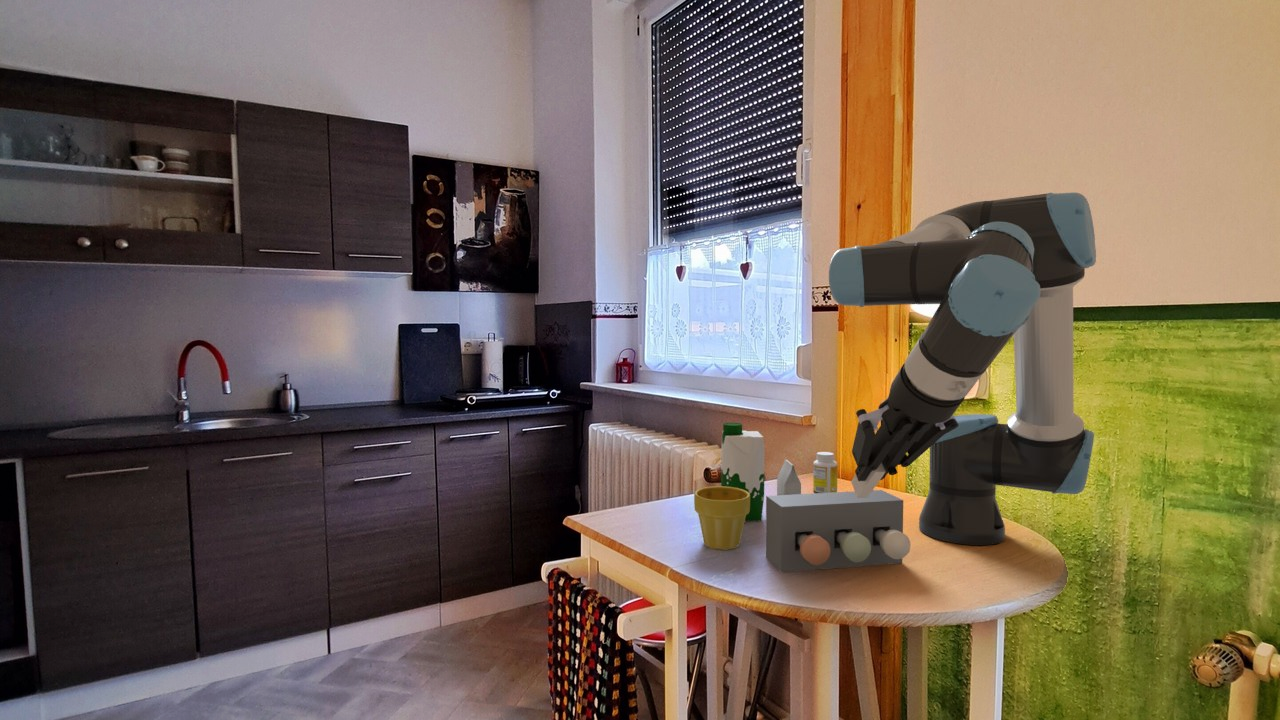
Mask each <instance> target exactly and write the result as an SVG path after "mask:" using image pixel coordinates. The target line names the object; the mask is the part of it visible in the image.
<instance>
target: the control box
mask: <svg viewBox="0 0 1280 720" xmlns="http://www.w3.org/2000/svg"><path fill="white" fill-rule="evenodd" d="M765 499H766V501H765V502H766V503H765V508H766V509H765V558H766V559H767V560H768V561H769V562H770V563H771V564H772V565H773V566H774V567H775V568H776V569H777V570H778V571H779V572H780V573H786V572H790V573H791V572H799V571H814V570H828V569H842V568H857V567H858V568H859V567H868V566H869V567H870V566H882V565H883V566H884V565H886V566H887V565H896V564H903V558H902V559H893V558H891V557H889V556H888V555H886V554H885V553H884V552H883V551H882V550H881V548H880V543H879V542H878V541H876V540H875V539H874V537H873V533H874V531H875V530H876V529H879V528H880V529H883V530H885V531H888V530H891V529H895V530H898V531H900V532H902V533H903V534H904V531H903V530H904V499H902V498H900V497H897V496H895V495H893V494H891V493H890V492H889V493H888V492H887V491H885V490H882V489H878V490H877V489H875V490H874V489H873V491H872V492H871V493H870V495H869V496H868V498H857V496H856V493H855V490H854V491H837V492H833V493H801V494H794V495H777V494H776V495H775V494H774V495H766V497H765ZM839 531H844V532H846V533H847V534H848V533H850V532H858V533H860V534H861V535H863V536H864V537H866V538H867V539H868V540H869V542H870V544H871V551H870V554H869V556H868V557H867V558H866V559H865V560H864V561H861V562H853V561H851V560H850V559H848V558H847V557H846V556H844V555H843V553H842V552H841V548H840V544H839V543H837V542H836V540H835V536H836V534H837V532H839ZM801 533H804V534H806V535H812V534H815V535H819V536H820V537H822V538H823V539H825V540H826V541H827V542H828V543H829V545H830V556H829V558H828V559H827V561H826V562H824V563H823V564H820V565H813V564H811V563H809V562H808V561H807V560H806V559H804V558H803V557H802V555H801V553H800V546H799V545H798V544H797V542H796V538H797V536H798V535H799V534H801Z"/></svg>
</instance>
